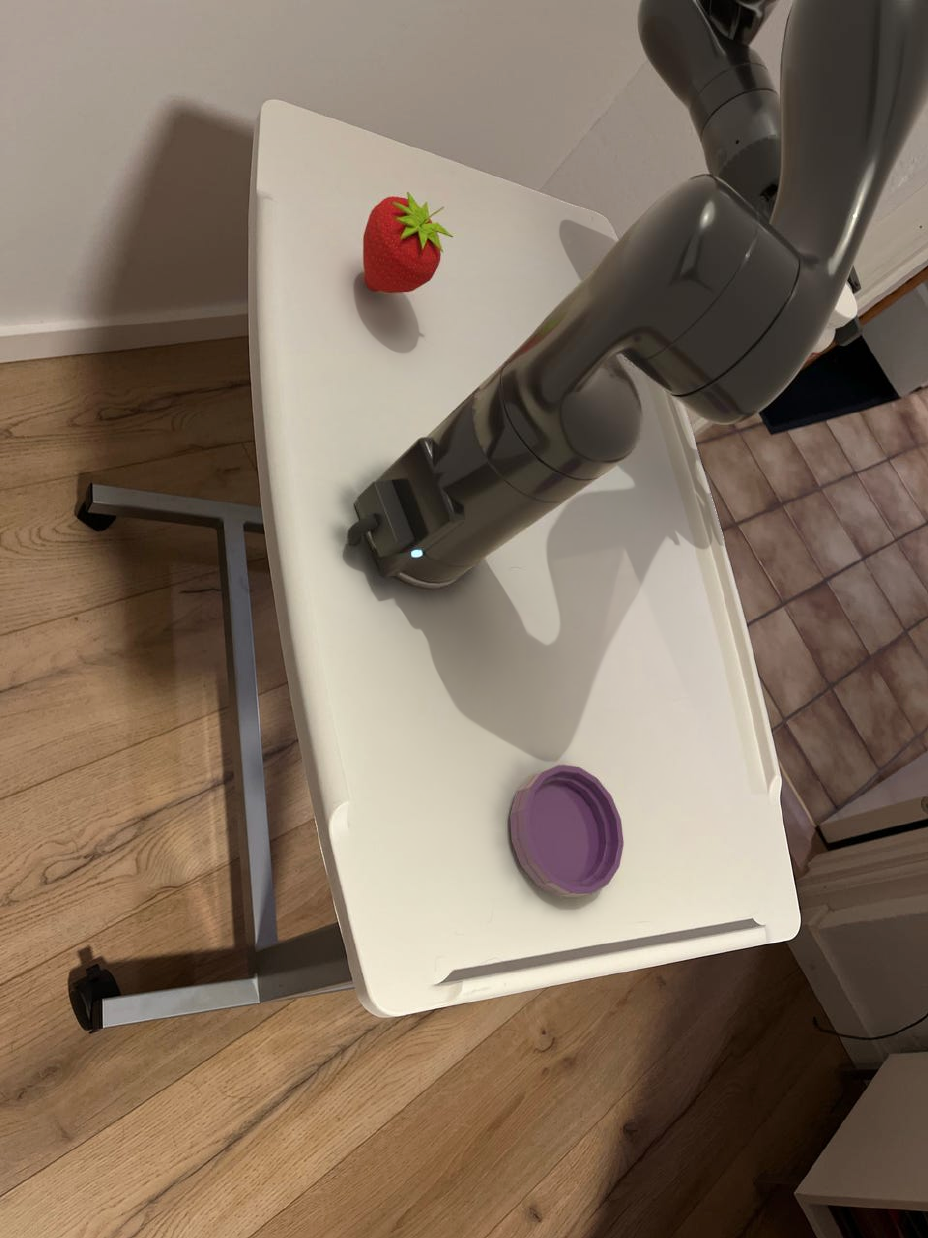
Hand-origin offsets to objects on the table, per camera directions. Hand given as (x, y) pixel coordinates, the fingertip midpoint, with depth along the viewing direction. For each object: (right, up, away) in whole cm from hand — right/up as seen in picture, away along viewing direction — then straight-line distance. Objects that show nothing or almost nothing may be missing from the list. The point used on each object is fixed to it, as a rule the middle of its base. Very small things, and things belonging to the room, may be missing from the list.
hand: (827, 334), depth 72 cm
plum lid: (-23, -38, -7) cm, 45 cm away
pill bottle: (-6, -1, +8) cm, 10 cm away
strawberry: (-37, +5, +3) cm, 37 cm away
